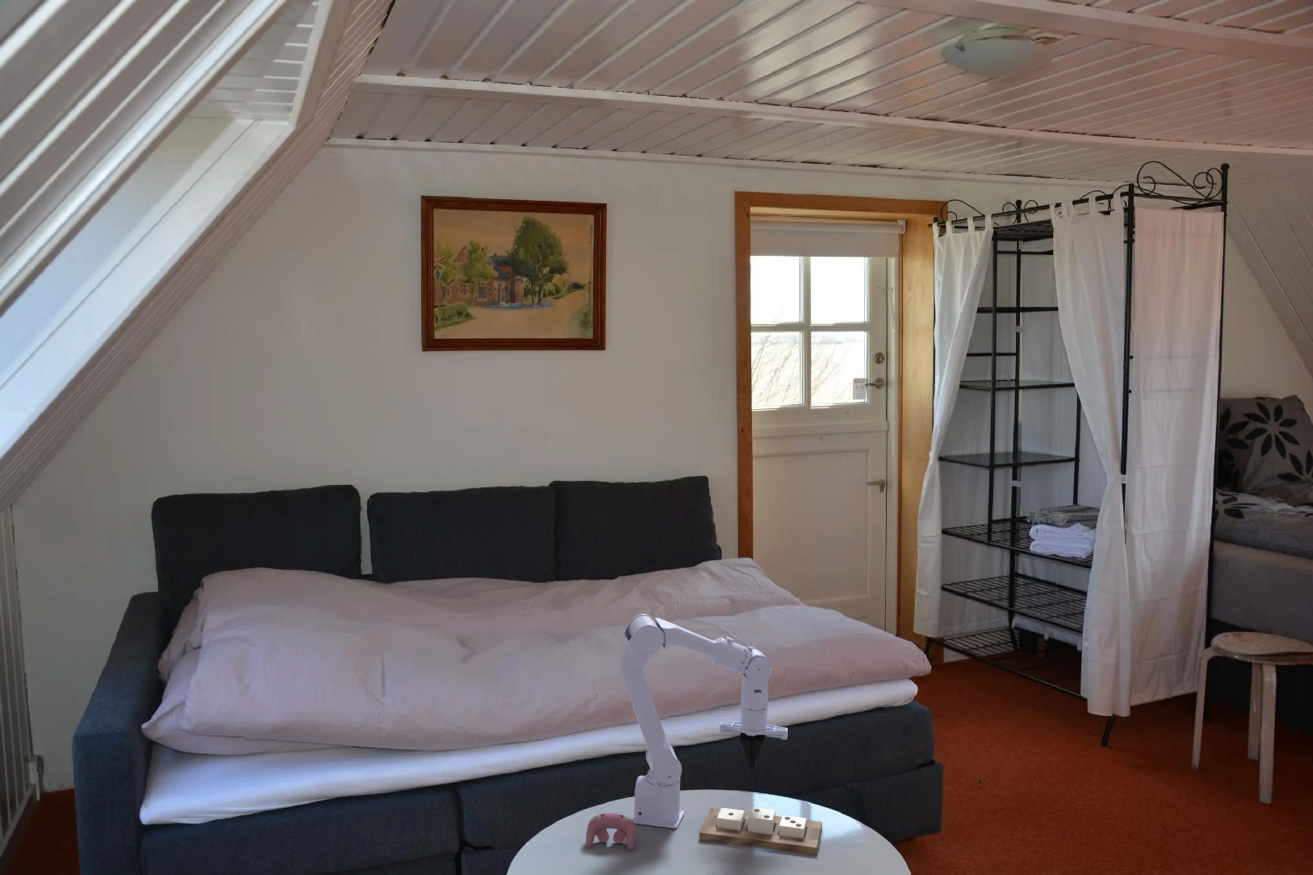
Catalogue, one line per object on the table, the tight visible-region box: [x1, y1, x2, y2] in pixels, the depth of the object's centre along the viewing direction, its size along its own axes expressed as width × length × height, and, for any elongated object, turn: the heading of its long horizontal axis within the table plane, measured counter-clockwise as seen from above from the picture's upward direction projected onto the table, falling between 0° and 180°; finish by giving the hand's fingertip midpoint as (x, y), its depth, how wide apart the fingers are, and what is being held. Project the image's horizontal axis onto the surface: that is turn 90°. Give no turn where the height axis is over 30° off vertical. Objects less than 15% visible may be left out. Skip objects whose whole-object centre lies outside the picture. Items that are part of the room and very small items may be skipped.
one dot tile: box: [717, 807, 746, 831], centre depth 223 cm, size 5×5×3 cm
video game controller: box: [585, 812, 636, 851], centre depth 216 cm, size 10×5×7 cm, turn 85°
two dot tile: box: [748, 806, 776, 835], centre depth 221 cm, size 5×5×3 cm
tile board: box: [698, 807, 823, 856], centre depth 221 cm, size 24×12×2 cm, turn 76°
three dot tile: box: [779, 815, 807, 839], centre depth 219 cm, size 5×5×3 cm
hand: (752, 767), depth 230 cm, fingers closed
